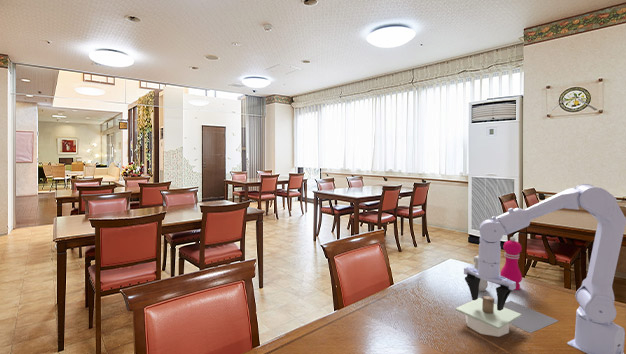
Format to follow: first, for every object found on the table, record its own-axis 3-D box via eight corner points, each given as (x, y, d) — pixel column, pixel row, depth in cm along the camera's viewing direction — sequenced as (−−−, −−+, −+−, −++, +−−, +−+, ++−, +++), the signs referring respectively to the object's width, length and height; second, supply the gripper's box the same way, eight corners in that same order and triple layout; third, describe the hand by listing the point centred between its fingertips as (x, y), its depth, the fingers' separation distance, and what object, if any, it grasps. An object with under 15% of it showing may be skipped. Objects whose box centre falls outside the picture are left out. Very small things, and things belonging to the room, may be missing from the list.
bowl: (515, 330, 96) (516, 317, 95) (491, 340, 91) (492, 326, 90) (481, 313, 106) (482, 302, 105) (458, 321, 101) (458, 309, 100)
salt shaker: (489, 293, 120) (490, 259, 119) (472, 292, 121) (474, 258, 120) (484, 287, 126) (485, 254, 125) (468, 286, 127) (469, 253, 126)
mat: (558, 321, 101) (559, 320, 101) (530, 334, 94) (530, 333, 94) (511, 301, 114) (511, 300, 114) (482, 311, 107) (483, 310, 107)
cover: (521, 316, 96) (522, 301, 96) (498, 329, 89) (499, 313, 89) (478, 299, 107) (479, 285, 107) (455, 310, 100) (455, 295, 100)
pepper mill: (502, 290, 123) (504, 238, 122) (497, 282, 130) (499, 233, 129) (524, 292, 121) (526, 240, 120) (518, 284, 128) (520, 235, 126)
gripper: (522, 264, 93) (519, 310, 94) (473, 251, 105) (471, 292, 106) (509, 270, 89) (507, 317, 90) (460, 255, 101) (459, 297, 102)
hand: (487, 304), depth 98 cm, fingers open, 7 cm apart
